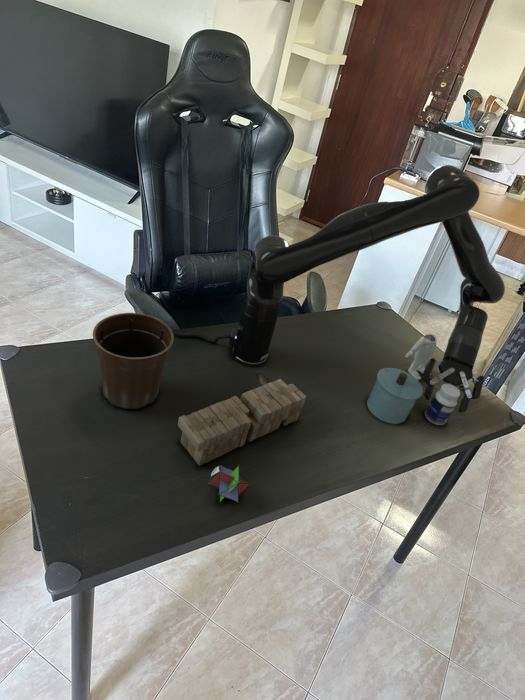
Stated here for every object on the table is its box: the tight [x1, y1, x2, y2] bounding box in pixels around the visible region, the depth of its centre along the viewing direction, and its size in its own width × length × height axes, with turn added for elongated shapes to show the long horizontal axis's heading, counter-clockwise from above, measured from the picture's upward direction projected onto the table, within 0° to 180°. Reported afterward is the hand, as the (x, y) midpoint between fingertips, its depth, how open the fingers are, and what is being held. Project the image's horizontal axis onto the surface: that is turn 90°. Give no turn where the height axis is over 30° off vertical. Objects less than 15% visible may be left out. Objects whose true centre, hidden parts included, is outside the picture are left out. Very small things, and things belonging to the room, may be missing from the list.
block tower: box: [177, 378, 307, 466], centre depth 105 cm, size 8×8×29 cm
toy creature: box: [405, 334, 437, 381], centre depth 138 cm, size 12×6×12 cm, turn 126°
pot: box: [366, 367, 424, 425], centre depth 121 cm, size 12×12×12 cm
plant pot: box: [92, 312, 175, 410], centre depth 105 cm, size 16×16×16 cm
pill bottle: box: [424, 383, 461, 426], centre depth 123 cm, size 6×6×10 cm
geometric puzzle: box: [207, 464, 251, 503], centre depth 91 cm, size 7×7×8 cm
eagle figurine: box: [255, 370, 271, 386], centre depth 116 cm, size 8×7×9 cm
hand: (443, 405), depth 121 cm, fingers open, 8 cm apart
